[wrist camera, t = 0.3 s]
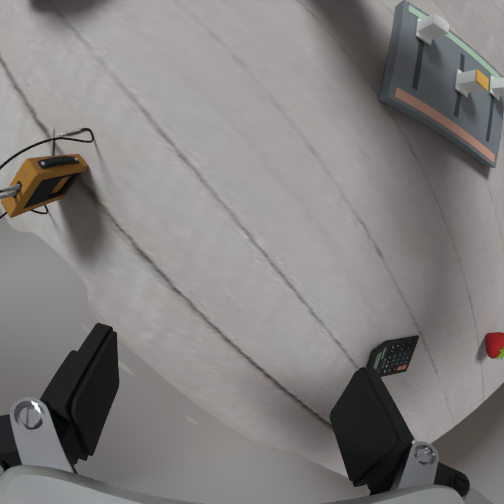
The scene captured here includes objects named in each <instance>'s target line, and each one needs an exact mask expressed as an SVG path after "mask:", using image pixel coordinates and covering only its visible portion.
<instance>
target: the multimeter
mask: <svg viewBox="0 0 504 504" xmlns="http://www.w3.org/2000/svg"><path fill="white" fill-rule="evenodd" d="M81 130H89V131H90V133H91V136H92V140H91V141H84V140H78V139H72V138H64V137H58V138H53V127H52V139H48V140H44V141H41V142H38V143H36V144H34V145H31V146H29V147H27V148H25V149H23V150H21V151H20V152H18V153H17V154H15V155H13V156H12V157H11V158H9V159H8V160H7V161H5V162H4V163H3V164H2V165H1V166H0V169H1V168H3V167H4V166H5V165H6V164H7V163H8V162H9V161H11V160H12V159H13V158H15V157H16V156H18V155H19V154H21V153H23V152H25V151H26V150H28V149H30V148H32V147H35V146H37V145H39V144H42V143H45V142H49V141H51V156H47V157H38V158H29V159H26V160H25V161H24V163H23V164H22V166H21V168H20V169H19V171H18V172H17V174H16V176H15V177H14V179H13V181H12V182H11V184H10V186H9V188H5V189H2V190H0V193H1V192H2V193H3V192H6V193H5V194H4V195H0V199H2V200H1V204H2V205H3V207H4V208H5V210H6V212H5V213H4V214H3V215H2V216H0V219H1V218H2V217H3V216H5V215H6V214H7V213H8V215H9V217H10V218H12V217H15V216H17V215H20V214H22V213H25V212H27V211H33V212H35V213H39V214H47V213H48V209H47V207H46V204H48V203H51V202H54V201H56V200H59V199H62V198H63V197H64V196H65V194H66V193H67V191H68V190H69V189H70V188H71V186H72V185H73V184H74V183H75V182H76V180H77V179H78V178H79V177H80V176H81V174H82V173H83V172H84V171H85V170H86V169H87V164H86V163H85V162H84V160H83V159H82V158H81V156H80V155H79V154H73V155H57V156H53V142H54V140H58V139H64V140H73V141H79V142H86V143H90V142H93V140H94V137H93V133H92V131H91V130H90V129H88V128H83V129H75V130H71V131H66V133H63V134H59V135H57V136H60V135H64V134H66V135H68V134H71V133H75V132H79V131H81ZM43 205H44V206H45V208H46V211H47V212H46V213H43V212H38V211H35V210H32V209H35V208H38V207H40V206H43Z"/></svg>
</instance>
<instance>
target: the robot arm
mask: <svg viewBox="0 0 504 504" xmlns="http://www.w3.org/2000/svg"><path fill="white" fill-rule="evenodd" d="M118 387H119V371H118V352H117V333H116V332H114V331H113V328H112V327H111V326H107V325H104V324H101V323H97V324H96V325H95V327H94V328H93V330H92V331H91V332H90V334H89V335H88V337H87V338H86V340H85V341H84V343H83V344H82V346H81V347H80V349H79V350H78V352H77V351H74V350H73V351H71V352H70V353H69V355H68V356H67V357H66V359H65V360H64V362H63V364H62V365H61V366H60V368H59V369H58V371H57V373H56V374H55V375H54V377H53V379H52V380H51V382H50V383H49V385H48V387H47V388H46V390H45V391H44V393H43V395H42V397H41V398H40V400H38V399H35V398H31V397H26V398H21V399H19V400H17V401H16V402H15V403H14V404H13V405H12V406H11V410H10V414H9V415H3V416H0V504H203V503H195V502H187V501H181V500H175V499H169V498H163V497H159V496H154V495H150V494H145V493H141V492H137V491H133V490H129V489H125V488H122V487H118V486H114V485H111V484H108V483H105V482H102V481H98V480H95V479H91V478H88V477H85V476H82V475H79V474H78V472H77V470H76V468H75V466H74V464H77V461H78V458H79V459H82V460H85V461H86V460H87V458H88V455H90V456H92V455H93V454H94V452H95V448H96V446H97V443H98V440H99V438H100V435H101V432H102V429H103V427H104V424H105V421H106V419H107V416H108V413H109V411H110V408H111V406H112V403H113V401H114V398H115V396H116V393H117V391H118ZM330 420H331V423H332V427H333V430H334V433H335V436H336V439H337V442H338V445H339V448H340V452H341V455H342V458H343V461H344V464H345V468H346V471H347V474H348V477H349V480H350V481H352V482H353V485H354V487H357V486H363V485H366V484H367V485H368V489H367V491H366V493H365V495H364V497H360V498H355V499H349V500H343V501H337V502H330V503H322V504H493V503H492V502H490V501H489V500H488V499H487V498H485V497H484V496H483V495H482V494H480V493H479V492H478V491H477V490H475V489H474V488H473V487H472V488H470V483H469V480H468V478H467V477H466V476H465V475H464V474H463V473H461V472H459V471H457V470H455V469H452V468H450V467H448V466H446V465H444V464H442V463H440V462H438V453H437V451H436V449H435V448H434V447H433V446H432V445H431V444H429V443H427V442H416V443H415V444H412V441H413V440H414V438H413V436H412V434H411V432H410V430H409V428H408V426H407V425H406V423H405V421H404V419H403V417H402V415H401V413H400V412H399V410H398V408H397V406H396V404H395V402H394V401H393V399H392V397H391V395H390V393H389V392H388V390H387V388H386V386H385V385H384V383H383V381H382V379H381V377H380V376H379V374H378V372H377V370H376V369H375V368H367V367H362V368H360V369H359V370H358V371H356V372H355V374H354V375H353V377H352V379H351V380H350V382H349V384H348V385H347V387H346V389H345V390H344V392H343V394H342V395H341V397H340V398H339V400H338V402H337V403H336V405H335V406H334V408H333V409H332V411H331V413H330ZM469 488H470V489H469Z"/></svg>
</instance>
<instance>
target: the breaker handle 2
mask: <svg viewBox="0 0 504 504" xmlns="http://www.w3.org/2000/svg"><path fill="white" fill-rule="evenodd" d="M490 93H491V94H492V95H493V96H494V97H495V98H496V99H497V100H500V96H504V77H503V78H494V77H493V76H492V75H491V78H490Z"/></svg>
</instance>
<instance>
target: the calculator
mask: <svg viewBox="0 0 504 504" xmlns="http://www.w3.org/2000/svg"><path fill="white" fill-rule="evenodd" d="M418 338H419V336H418V335H417V336H411V337H406V338H400V339H394V340H388V341H385V342H383V343H382V344H380V345H379V346H377V347H376V348H374V349H373V351H372V355H371V358H370V361H369V365H368V368H375V369H376V370H377V372H378V374H379V376H380V377H382V376H387V375H392V374H396V373H401V372H405V371H407V368H408V366H409V363H410V360H411V358H412V355H413V352H414V350H415V347H416V344H417V341H418Z"/></svg>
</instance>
